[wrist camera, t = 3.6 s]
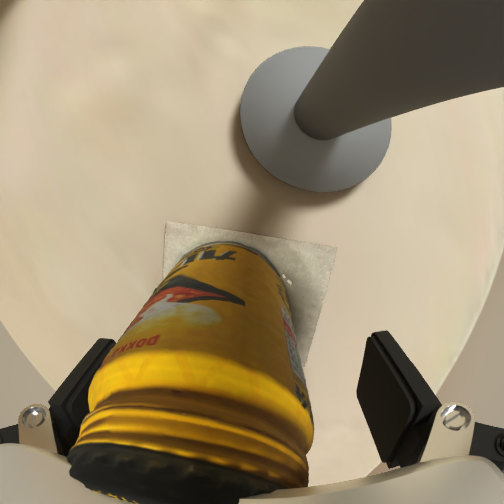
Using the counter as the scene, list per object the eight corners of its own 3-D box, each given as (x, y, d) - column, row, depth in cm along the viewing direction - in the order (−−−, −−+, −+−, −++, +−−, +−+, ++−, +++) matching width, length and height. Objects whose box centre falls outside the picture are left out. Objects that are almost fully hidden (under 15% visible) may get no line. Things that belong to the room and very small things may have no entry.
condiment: (167, 220, 13) (-42, 378, 2) (336, 246, 14) (504, 440, 2) (162, 343, 15) (83, 526, 4) (303, 363, 16) (343, 556, 4)
